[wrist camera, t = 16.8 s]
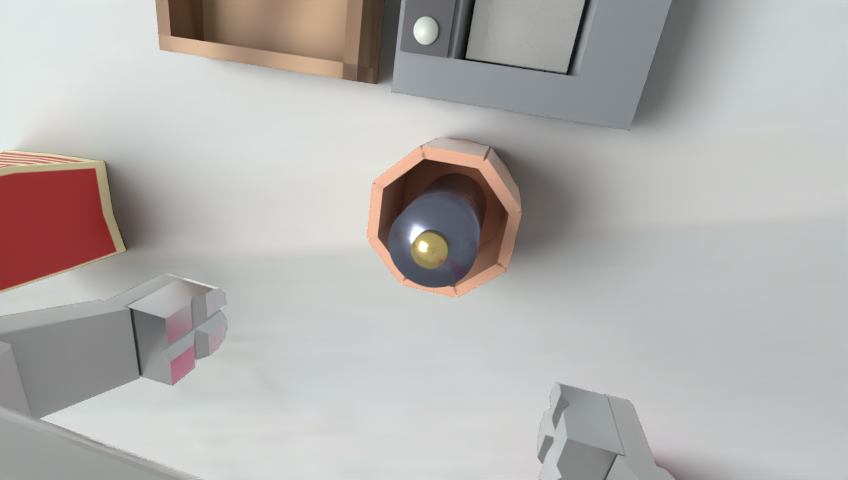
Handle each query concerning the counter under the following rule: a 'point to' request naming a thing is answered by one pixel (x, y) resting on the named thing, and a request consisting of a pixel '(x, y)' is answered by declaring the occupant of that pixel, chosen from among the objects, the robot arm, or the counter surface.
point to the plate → (525, 33)
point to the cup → (418, 173)
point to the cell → (439, 232)
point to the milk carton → (52, 216)
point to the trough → (279, 34)
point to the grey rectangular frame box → (527, 89)
